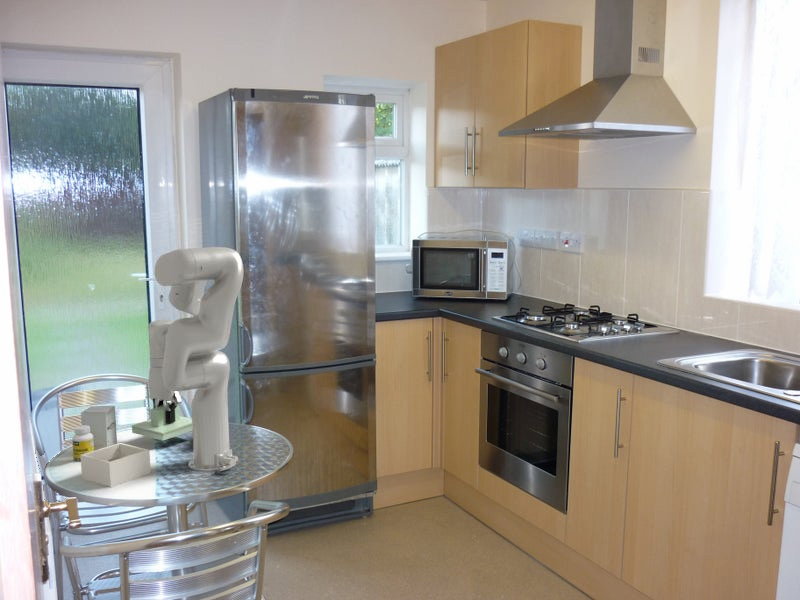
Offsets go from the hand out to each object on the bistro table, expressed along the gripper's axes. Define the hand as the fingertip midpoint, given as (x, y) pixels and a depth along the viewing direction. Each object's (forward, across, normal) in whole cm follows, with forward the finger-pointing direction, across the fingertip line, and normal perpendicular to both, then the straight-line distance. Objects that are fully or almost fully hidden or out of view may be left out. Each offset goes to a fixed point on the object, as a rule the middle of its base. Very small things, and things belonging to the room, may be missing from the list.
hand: (166, 421), depth 228 cm
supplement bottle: (+6, +6, +24) cm, 26 cm away
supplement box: (+7, +10, +16) cm, 20 cm away
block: (+5, -14, +28) cm, 32 cm away
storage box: (+6, -14, +28) cm, 32 cm away
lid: (+3, 0, 0) cm, 3 cm away
